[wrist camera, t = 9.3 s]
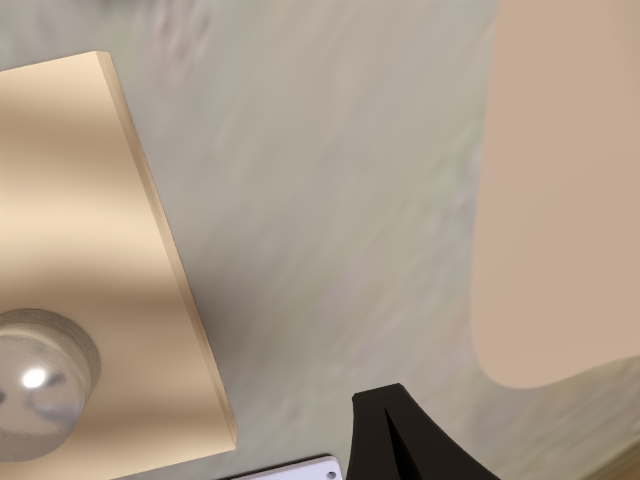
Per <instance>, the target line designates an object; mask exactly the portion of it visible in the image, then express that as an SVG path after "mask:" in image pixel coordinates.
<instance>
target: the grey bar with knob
mask: <svg viewBox="0 0 640 480" xmlns="http://www.w3.org/2000/svg"><path fill="white" fill-rule="evenodd" d="M100 373H101V361H100V356H99V353H98V350H97V348H96V346H95V344H94V343H93V341H92V340H91V338H90V337H89V336H88V335H87V333H86V332H85V331H83V330H82V329H81V328H80V327H79V326H77V325H76V324H75V323H73V322H72V321H70V320H68V319H66V318H64V317H62V316H59V315H57V314H54V313H51V312H46V311H41V310H17V311H12V312H8V313H5V314H2V315H0V462H22V461H29V460H33V459H37V458H40V457H42V456H45V455H47V454H49V453H51V452H53V451H54V450H55V449H57V448H58V447H59V446H61V445H62V444H63V443H64V442H65V440H66V439H67V438H68V437H69V435H70V433H71V432H72V430H73V428H74V426H75V424H76V422H77V420H78V419H79V417H80V415H81V413H82V411H83V409H84V407H85V406H86V404H87V402H88V400H89V398H90V396H91V394H92V393H93V391H94V389H95V387H96V385H97V383H98V380H99V378H100Z"/></svg>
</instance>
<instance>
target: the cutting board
mask: <svg viewBox="0 0 640 480" xmlns="http://www.w3.org/2000/svg"><path fill="white" fill-rule="evenodd" d="M17 310H41V311H46V312H51V313H54V314H57V315H59V316H62V317H64V318H66V319H68V320H70V321H72V322H73V323H75V324H76V325H77V326H79V327H80V328H81V329H82V330H83V331H85V332H86V333H87V335H88V336H89V337H90V338H91V340H92V341H93V343H94V344H95V346H96V348H97V350H98V353H99V356H100V361H101V373H100V378H99V380H98V383H97V385H96V387H95V389H94V391H93V393H92V394H91V396H90V398H89V400H88V402H87V404H86V406H85V407H84V409H83V411H82V413H81V415H80V417H79V419H78V420H77V422H76V424H75V426H74V428H73V430H72V432H71V433H70V435H69V437H68V438H67V439H66V440H65V442H64V443H63V444H62V445H61V446H59V447H58V448H57V449H55V450H54V451H53V452H51V453H49V454H47V455H45V456H42V457H40V458H37V459H33V460H29V461H22V462H0V480H111V479H115V478H119V477H123V476H127V475H131V474H135V473H139V472H144V471H148V470H152V469H156V468H160V467H164V466H168V465H172V464H177V463H181V462H185V461H189V460H193V459H197V458H201V457H205V456H210V455H214V454H218V453H222V452H226V451H230V450H234V449H236V439H237V424H236V421H235V418H234V415H233V412H232V409H231V406H230V404H229V401H228V398H227V395H226V392H225V389H224V386H223V383H222V380H221V377H220V374H219V371H218V369H217V366H216V363H215V360H214V357H213V354H212V351H211V348H210V345H209V342H208V339H207V337H206V334H205V331H204V328H203V325H202V322H201V319H200V316H199V313H198V310H197V307H196V304H195V302H194V299H193V296H192V293H191V290H190V287H189V284H188V281H187V278H186V275H185V272H184V270H183V267H182V264H181V261H180V258H179V255H178V252H177V249H176V246H175V243H174V240H173V237H172V235H171V232H170V229H169V226H168V223H167V220H166V217H165V214H164V211H163V208H162V205H161V203H160V200H159V197H158V194H157V191H156V188H155V185H154V182H153V179H152V176H151V173H150V170H149V168H148V165H147V162H146V159H145V156H144V153H143V150H142V147H141V144H140V141H139V138H138V136H137V133H136V130H135V127H134V124H133V121H132V118H131V115H130V112H129V109H128V106H127V103H126V101H125V98H124V95H123V92H122V89H121V86H120V83H119V80H118V77H117V74H116V71H115V69H114V66H113V63H112V60H111V57H110V54H109V52H102V51H92V52H88V53H83V54H79V55H74V56H70V57H65V58H60V59H56V60H51V61H47V62H42V63H38V64H33V65H29V66H24V67H19V68H15V69H10V70H6V71H1V72H0V315H2V314H5V313H8V312H12V311H17Z"/></svg>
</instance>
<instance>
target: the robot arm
mask: <svg viewBox="0 0 640 480" xmlns="http://www.w3.org/2000/svg"><path fill="white" fill-rule="evenodd" d="M352 402H353V412H354V421H353V436H352V445H351V454H350V461H349V466H348V471H347V477H346V480H501V479H499V478H498V477H497V476H495V475H494V474H493V473H491V472H490V471H489V470H487V469H486V468H485V467H484V466H482V465H481V464H480V463H479V462H477V461H476V460H475V459H474V458H473V457H471V456H470V455H469V454H468V453H467V452H466V451H464V450H463V449H462V448H461V447H460V446H459V445H458V444H456V443H455V442H454V441H453V440H452V439H451V438H450V437H449V436H448V435H447V434H446V433H445V432H444V431H443V430H442V429H441V428H440V427H439V426H438V425H437V424H436V423H435V422H434V421H433V420H432V419H431V418H430V417H429V416H428V415H427V414H426V413H425V412H424V411H423V410H422V408H421V407H420V406H419V405H418V404H417V403H416V402H415V400H414V399H413V398H412V397H411V396H410V394H409V393H408V392H407V390H406V389H405V388H404V386H403V385H401V384H400V383H397V384H392V385H388V386H384V387H380V388H376V389H372V390H367V391H363V392H359V393H355V394H354V396H353V397H352ZM329 472H333V473H329ZM232 480H342V476H341V472H340V468H339V464H338V461H337V459H336V458H335V457H333V456H326V457H322V458H318V459H314V460H310V461H305V462H301V463H297V464H293V465H289V466H285V467H281V468H277V469H273V470H269V471H264V472H260V473H256V474H252V475H248V476H244V477H240V478H236V479H232Z"/></svg>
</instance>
